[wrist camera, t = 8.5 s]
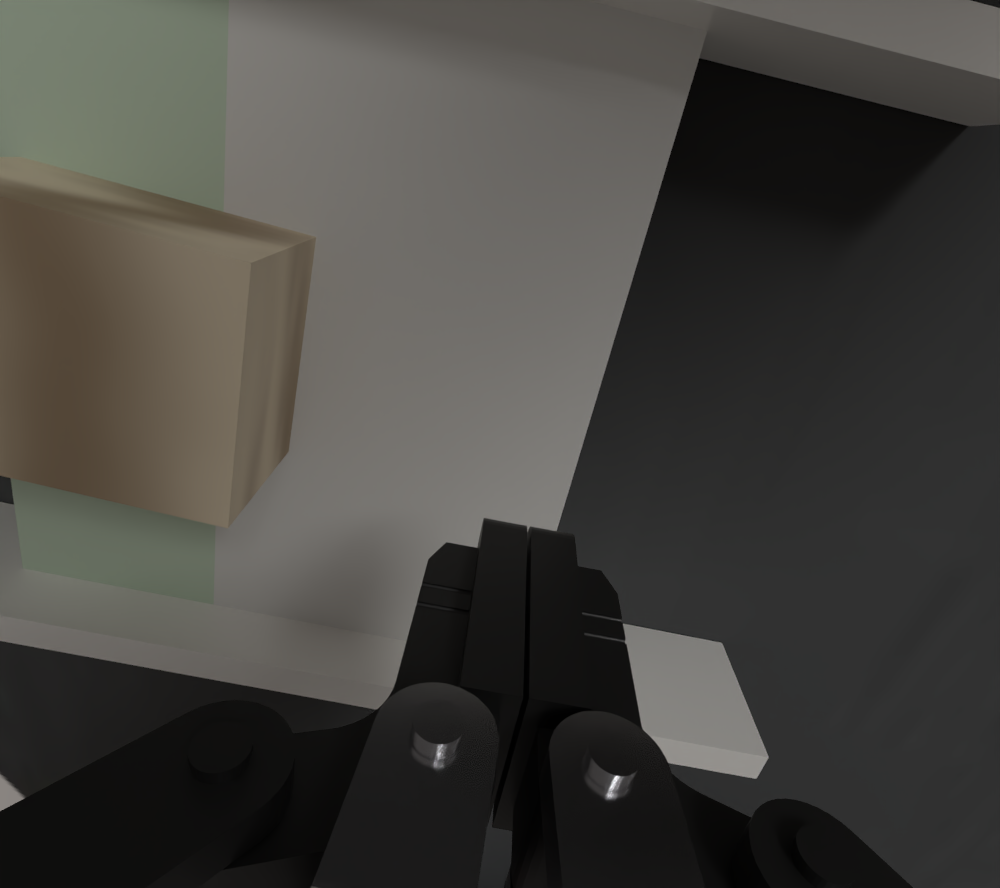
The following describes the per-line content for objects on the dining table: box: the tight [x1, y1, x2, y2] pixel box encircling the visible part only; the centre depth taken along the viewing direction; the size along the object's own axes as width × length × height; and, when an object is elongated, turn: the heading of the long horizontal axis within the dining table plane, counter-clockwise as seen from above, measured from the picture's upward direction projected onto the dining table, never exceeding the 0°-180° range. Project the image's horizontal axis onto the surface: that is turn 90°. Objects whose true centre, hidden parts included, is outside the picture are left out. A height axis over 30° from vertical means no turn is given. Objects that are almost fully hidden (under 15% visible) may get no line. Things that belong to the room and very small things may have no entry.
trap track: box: [0, 0, 1000, 779], centre depth 17 cm, size 32×20×5 cm, turn 78°
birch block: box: [0, 157, 316, 528], centre depth 14 cm, size 7×6×4 cm
